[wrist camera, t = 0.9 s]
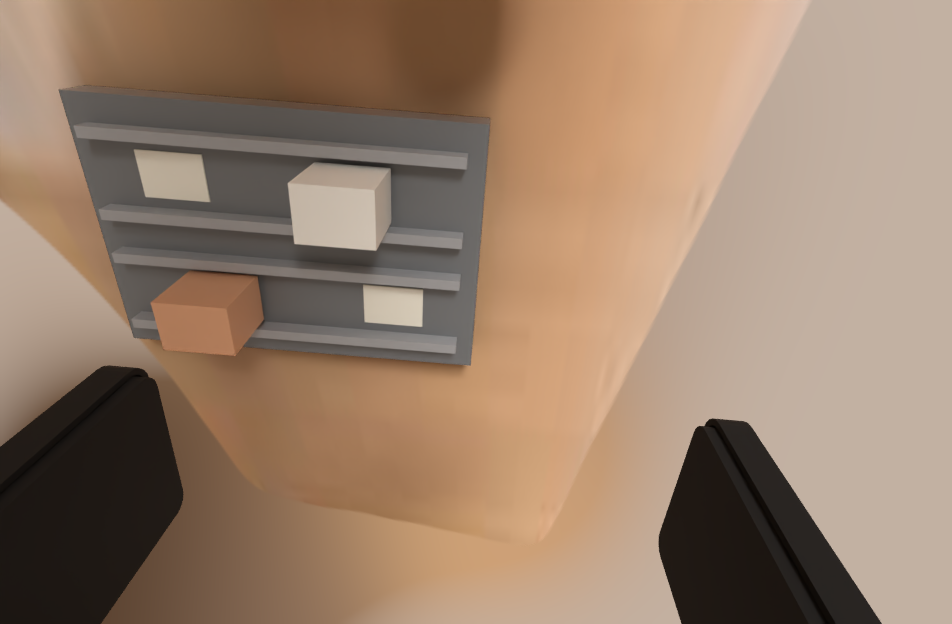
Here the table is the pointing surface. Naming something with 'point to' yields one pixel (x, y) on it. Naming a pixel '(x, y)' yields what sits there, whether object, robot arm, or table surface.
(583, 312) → the table surface
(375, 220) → the off-white block
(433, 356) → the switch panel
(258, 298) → the orange cube
